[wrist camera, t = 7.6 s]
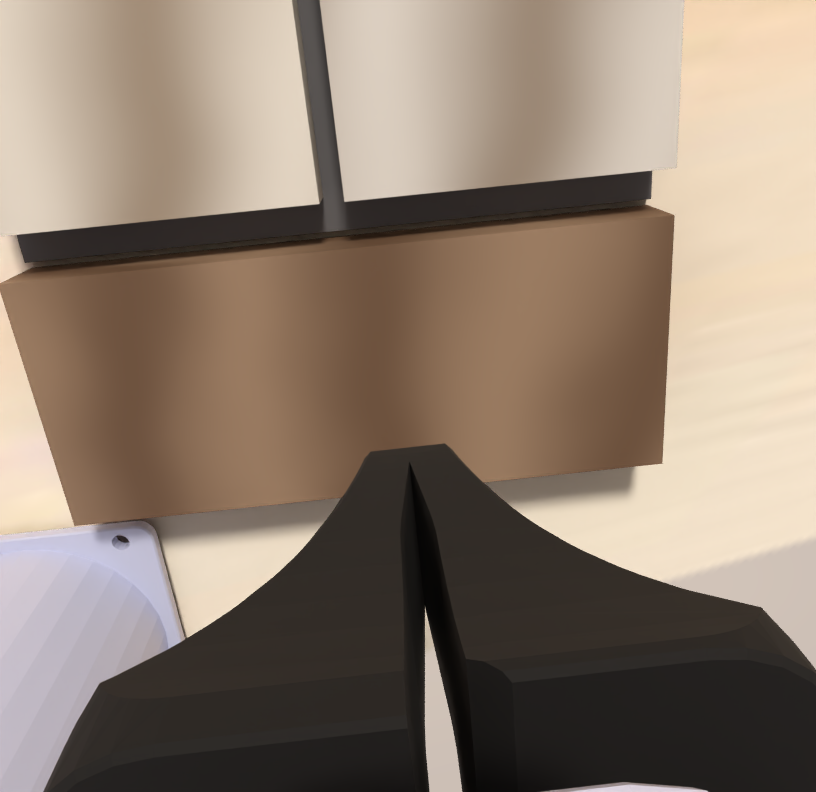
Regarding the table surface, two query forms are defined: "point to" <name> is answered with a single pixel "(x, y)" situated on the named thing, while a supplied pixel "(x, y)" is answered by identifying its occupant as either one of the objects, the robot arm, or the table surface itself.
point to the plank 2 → (500, 91)
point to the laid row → (349, 359)
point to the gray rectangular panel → (331, 193)
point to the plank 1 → (151, 111)
